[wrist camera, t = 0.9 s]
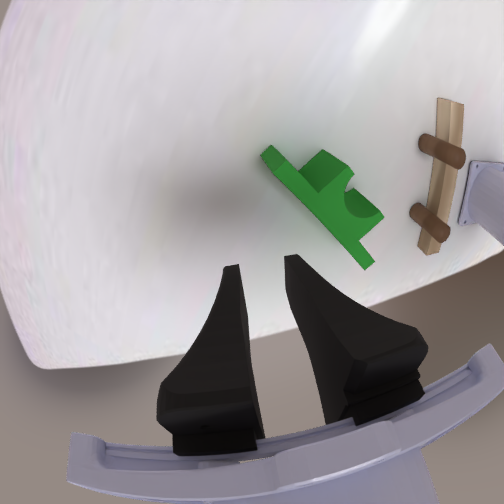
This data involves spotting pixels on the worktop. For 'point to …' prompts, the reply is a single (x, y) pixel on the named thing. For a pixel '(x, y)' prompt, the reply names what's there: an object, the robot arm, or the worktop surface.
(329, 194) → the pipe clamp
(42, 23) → the worktop surface
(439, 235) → the peg rack
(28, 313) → the worktop surface
